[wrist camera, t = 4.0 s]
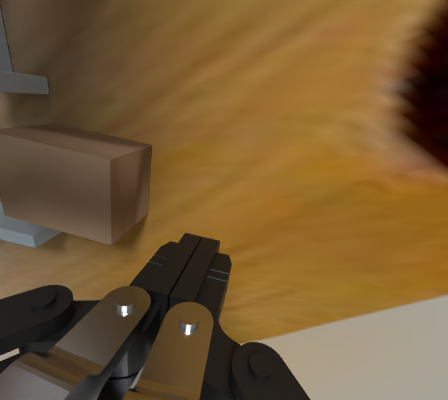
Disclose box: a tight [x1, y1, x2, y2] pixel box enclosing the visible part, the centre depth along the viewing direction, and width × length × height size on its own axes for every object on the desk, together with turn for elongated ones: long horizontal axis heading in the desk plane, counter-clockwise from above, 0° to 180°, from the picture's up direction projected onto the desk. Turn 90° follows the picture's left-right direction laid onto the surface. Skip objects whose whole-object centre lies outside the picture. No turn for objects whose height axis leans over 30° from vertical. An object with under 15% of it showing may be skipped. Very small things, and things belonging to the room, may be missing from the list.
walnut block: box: [0, 124, 152, 245], centre depth 15 cm, size 5×7×4 cm
